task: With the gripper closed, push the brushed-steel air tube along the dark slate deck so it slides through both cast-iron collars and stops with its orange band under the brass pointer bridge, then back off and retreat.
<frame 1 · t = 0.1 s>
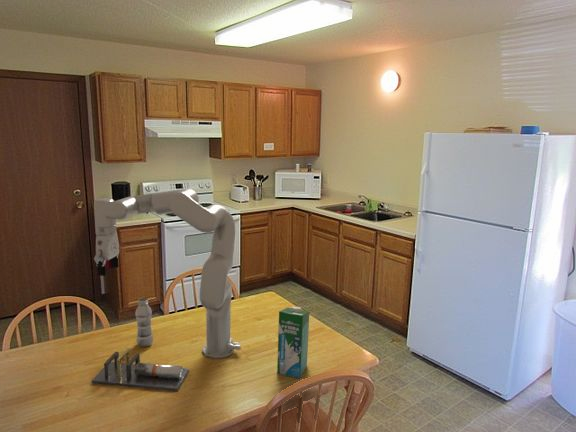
hand: (108, 271, 168), 31 cm above the table, fingers open, 9 cm apart
collar 2: (133, 376, 151), resting on deck
collar 1: (112, 374, 152), resting on deck
aperture bridge: (124, 375, 152), resting on deck
deck: (141, 377, 151), on the table
air tube: (158, 370, 150), point 4 cm above the table, slide at 0.0 cm
milk carton: (292, 370, 159), on the table
plastic bottle: (145, 345, 173), on the table
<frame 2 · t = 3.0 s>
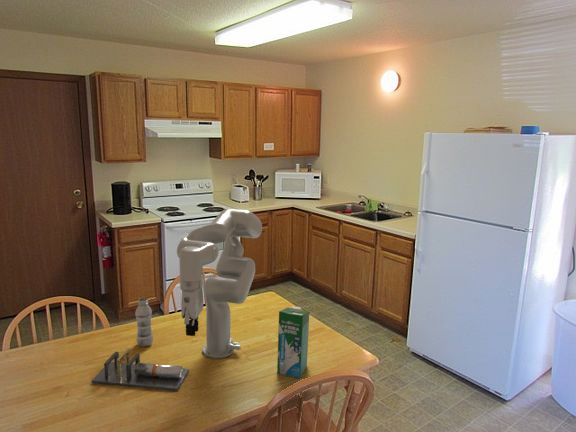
hand: (192, 332, 145), 19 cm above the table, fingers closed
nothing on the table moved.
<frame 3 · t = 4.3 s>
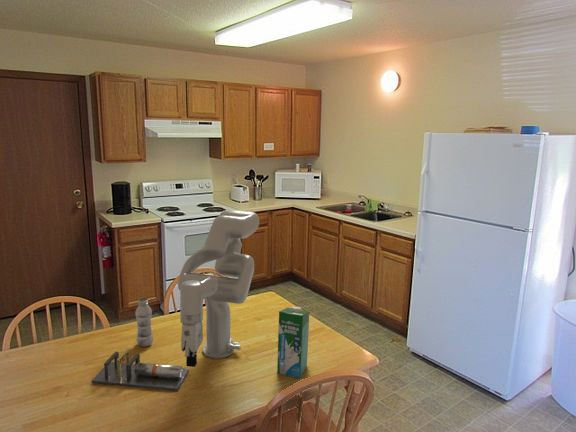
hand: (191, 365, 147), 7 cm above the table, fingers closed
nothing on the table moved.
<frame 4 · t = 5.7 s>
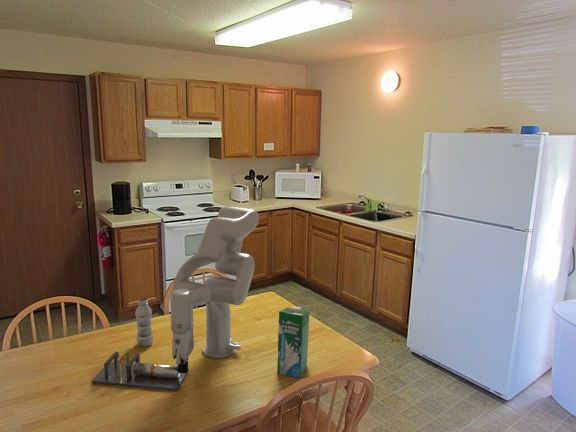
hand: (183, 371, 149), 4 cm above the table, fingers closed
air tube: (157, 370, 150), point 4 cm above the table, slide at 0.7 cm, touching gripper
everything else where it was.
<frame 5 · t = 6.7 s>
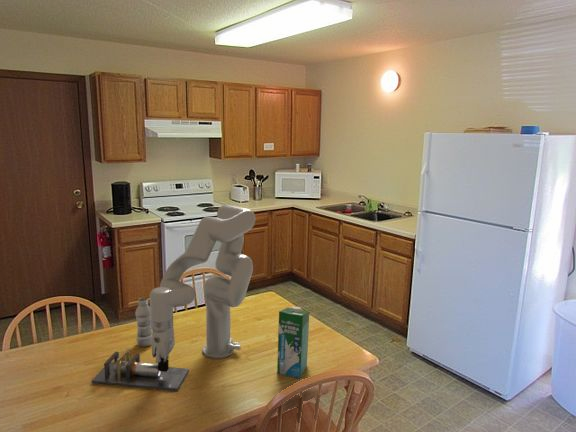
hand: (163, 370, 149), 4 cm above the table, fingers closed
air tube: (137, 368, 150), point 4 cm above the table, slide at 7.9 cm, touching gripper
everything else where it was.
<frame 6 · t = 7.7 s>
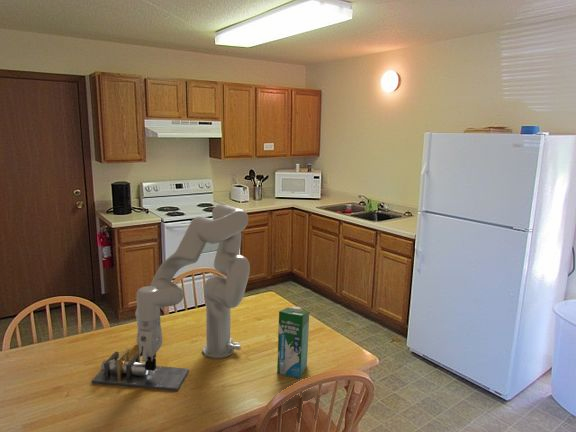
hand: (150, 369, 150), 4 cm above the table, fingers closed
air tube: (125, 367, 151), point 4 cm above the table, slide at 12.5 cm, touching gripper
everything else where it was.
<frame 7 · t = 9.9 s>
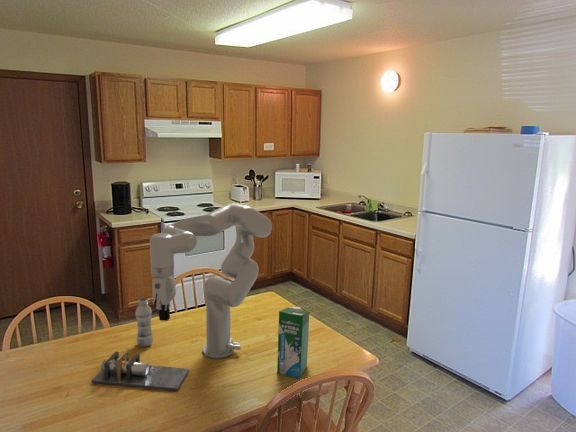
hand: (164, 319, 146), 23 cm above the table, fingers closed
air tube: (125, 367, 151), point 4 cm above the table, slide at 12.6 cm
everything else where it was.
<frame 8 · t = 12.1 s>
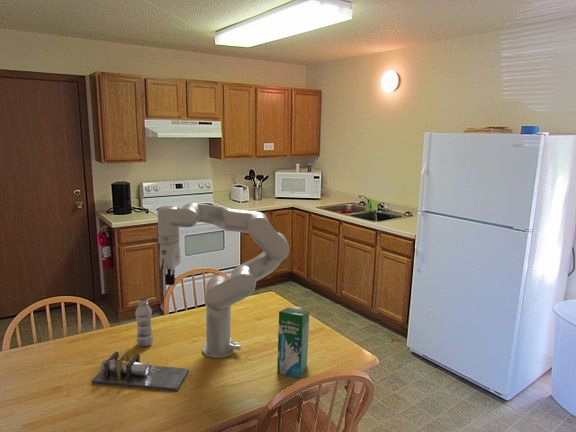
hand: (170, 284, 162), 29 cm above the table, fingers closed
nothing on the table moved.
at the end: air tube slide at 12.6 cm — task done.
